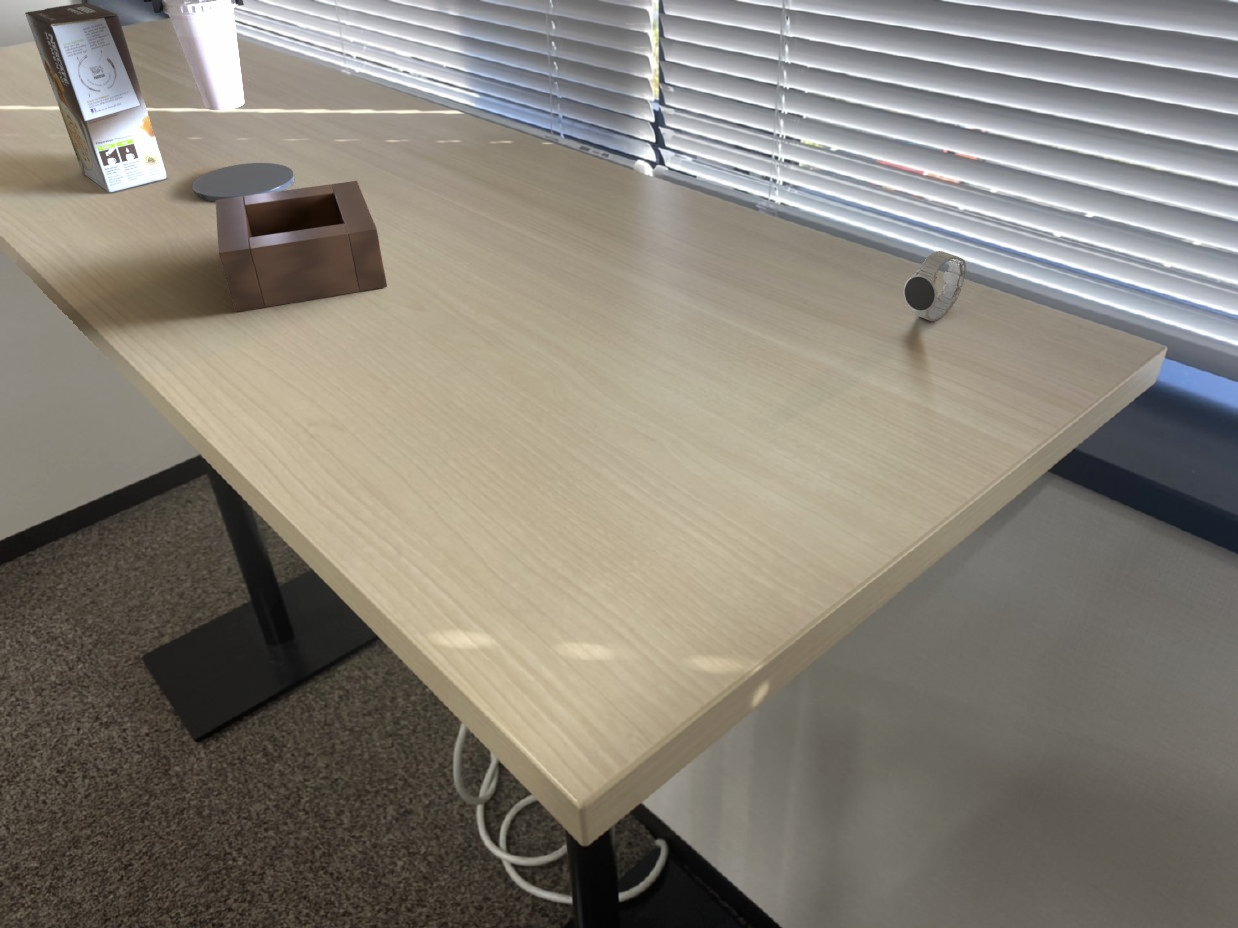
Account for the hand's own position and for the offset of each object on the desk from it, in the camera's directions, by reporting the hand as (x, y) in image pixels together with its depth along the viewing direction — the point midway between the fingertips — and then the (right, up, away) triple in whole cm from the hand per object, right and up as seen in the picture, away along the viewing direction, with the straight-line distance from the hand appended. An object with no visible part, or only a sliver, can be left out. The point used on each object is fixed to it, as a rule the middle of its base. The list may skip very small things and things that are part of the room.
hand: (199, 4), depth 90 cm
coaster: (0, -14, +10) cm, 17 cm away
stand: (+12, -26, -7) cm, 30 cm away
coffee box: (-14, -12, +13) cm, 22 cm away
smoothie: (0, -8, +5) cm, 9 cm away
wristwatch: (+63, -32, -16) cm, 72 cm away
